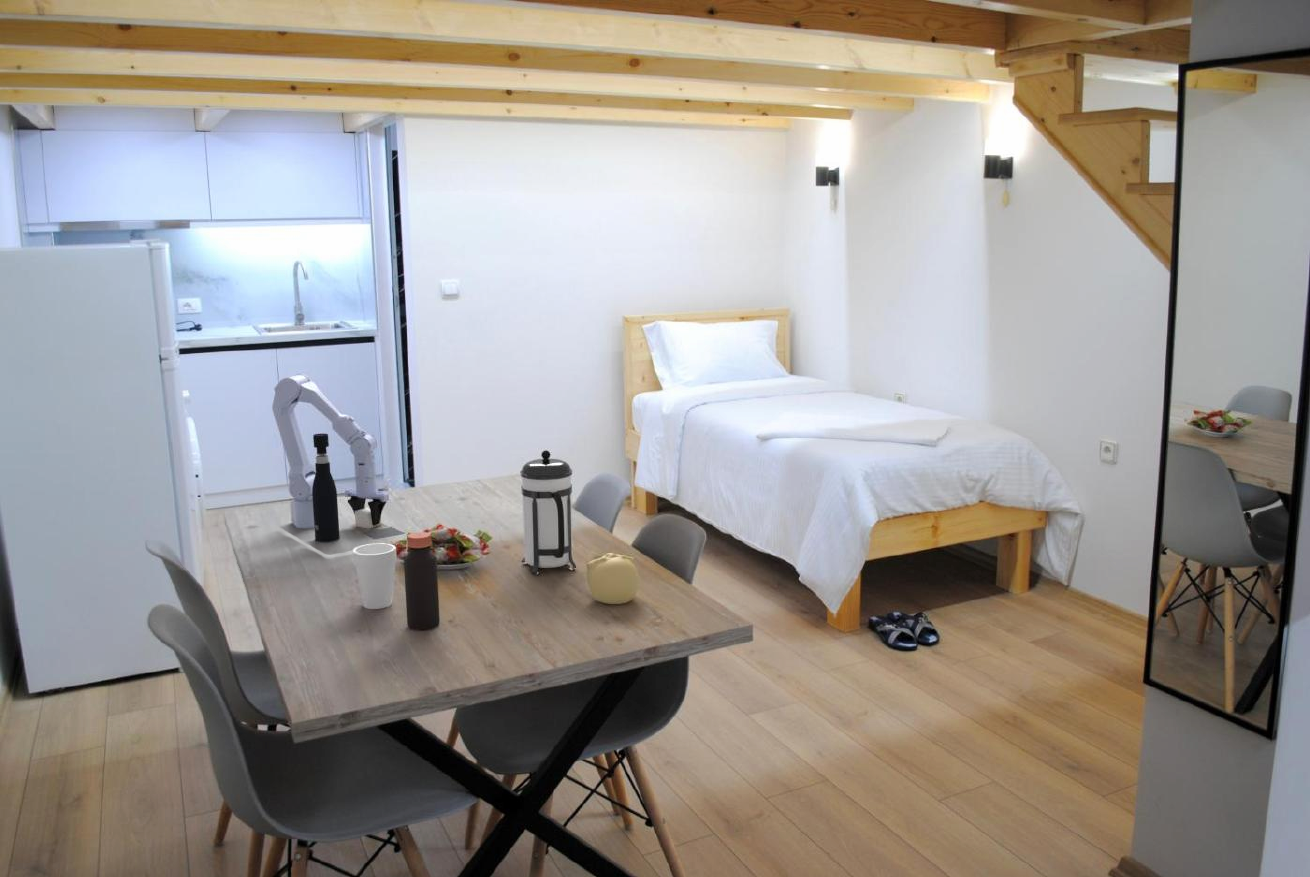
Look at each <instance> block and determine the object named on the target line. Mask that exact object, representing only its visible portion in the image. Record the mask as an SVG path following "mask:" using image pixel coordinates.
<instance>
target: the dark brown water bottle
mask: <svg viewBox="0 0 1310 877" xmlns="http://www.w3.org/2000/svg"><path fill="white" fill-rule="evenodd" d="M406 536H407V537H406V538H407V539H406V540H407V541H406V542H407V549H408V550H409V552H408V553H407V554H406V556H404V558H403V569H404V570H403V571H404V585H405V586H404V588H405V591H404V592H405V604H406V606H405V607H406V608H405V609H406V621H407V622H406V623H407V624H406V625H407V627H408V628H409V629H411V630H414V631H428V630H432V629H434V628H437V627H438V626H439V625H440V622H441V620H440V604H439V602H440V600H439V599H440V598H439V581H438V578H439V577H438V559H437V556H436V554H435V553H434V552H432V550H431V548H432V533H430V532H425V531H424V532H423V531H418V532H417V531H415V532H412V533H409V534H408V535H406Z"/></svg>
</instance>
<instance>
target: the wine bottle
mask: <svg viewBox="0 0 1310 877" xmlns="http://www.w3.org/2000/svg"><path fill="white" fill-rule="evenodd" d="M312 437H313V438H312V439H313V448H316V457H315V459H316V460H315V463H314V465H315V466H314V467H315V470H316V474H315V478H314V482H313V487H312V499H313V513H314V527H313V528H314V538H315V539H314V540H315V542H318V543H331V542H335V541H336V542H337V541H338V540H340V537H341V535H340V523H339V522H340V521H339V506H338V505H339V504H338V492H337V491H338V490H337V486H336V482H335V480H334V477H333V474H332V473H331V463H330V461H329V455H327V454H328V450H327V448H329V447H330V444H329V442H330V441H329V434H328V433H315V434H313V436H312Z"/></svg>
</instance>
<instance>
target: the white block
mask: <svg viewBox="0 0 1310 877" xmlns="http://www.w3.org/2000/svg"><path fill="white" fill-rule="evenodd" d="M354 520H355V522H354V523H355V524H356V527H362V528H368V529H369V528H372V527H375V526H378V525H381V523H382V517H381V518H380V523H379V524H377V525H373V524H372V517H371V511H370V508H369V506H368V507H367V506H366V507H364V509H360V510H357V511H355V514H354ZM369 530H370V529H369Z"/></svg>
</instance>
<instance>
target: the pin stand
mask: <svg viewBox="0 0 1310 877" xmlns="http://www.w3.org/2000/svg"><path fill="white" fill-rule="evenodd" d="M349 526H350V527H351V528H354V529H356V530H359V531H360V532H365V531H370V530H376V529H381V528H387V525H386V524H384V523H382V522H381V525H378V526H375V527H372V528H369V529H368V528H362V527H356V523H354V524H349Z"/></svg>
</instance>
